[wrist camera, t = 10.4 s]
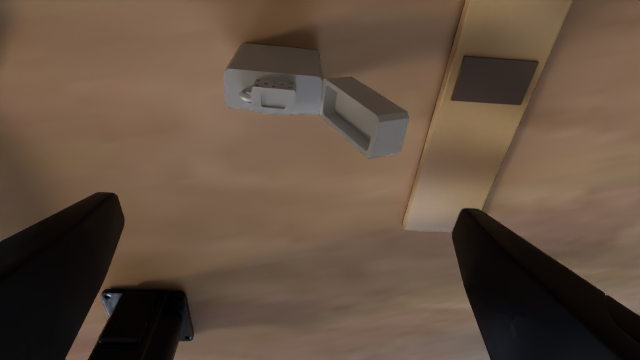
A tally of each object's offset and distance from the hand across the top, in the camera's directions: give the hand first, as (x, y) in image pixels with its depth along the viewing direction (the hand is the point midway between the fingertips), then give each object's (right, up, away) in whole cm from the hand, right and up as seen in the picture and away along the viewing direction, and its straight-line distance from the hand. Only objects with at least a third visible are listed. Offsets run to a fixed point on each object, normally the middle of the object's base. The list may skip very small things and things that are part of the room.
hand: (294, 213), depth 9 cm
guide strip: (+10, +7, +10) cm, 16 cm away
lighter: (0, +7, +10) cm, 12 cm away
